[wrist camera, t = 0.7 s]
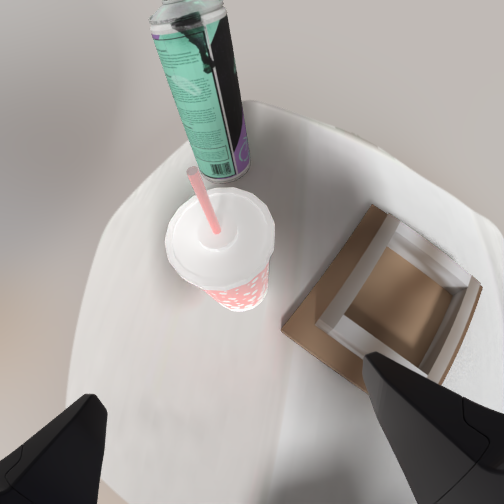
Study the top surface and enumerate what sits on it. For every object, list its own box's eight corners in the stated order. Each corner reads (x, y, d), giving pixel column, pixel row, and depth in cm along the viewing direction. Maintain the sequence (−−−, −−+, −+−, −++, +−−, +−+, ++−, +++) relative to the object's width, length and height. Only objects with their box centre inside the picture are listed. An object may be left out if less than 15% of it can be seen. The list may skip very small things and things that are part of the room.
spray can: (261, 164, 28) (236, -29, 10) (217, 192, 27) (154, -8, 9) (231, 139, 30) (195, -27, 12) (191, 163, 29) (128, -5, 11)
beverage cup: (202, 256, 24) (132, 139, 12) (271, 245, 24) (259, 111, 12) (207, 325, 22) (114, 254, 9) (283, 314, 22) (286, 224, 9)
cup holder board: (477, 290, 20) (497, 277, 17) (411, 423, 16) (431, 428, 13) (369, 209, 25) (379, 187, 22) (280, 331, 21) (281, 323, 18)
